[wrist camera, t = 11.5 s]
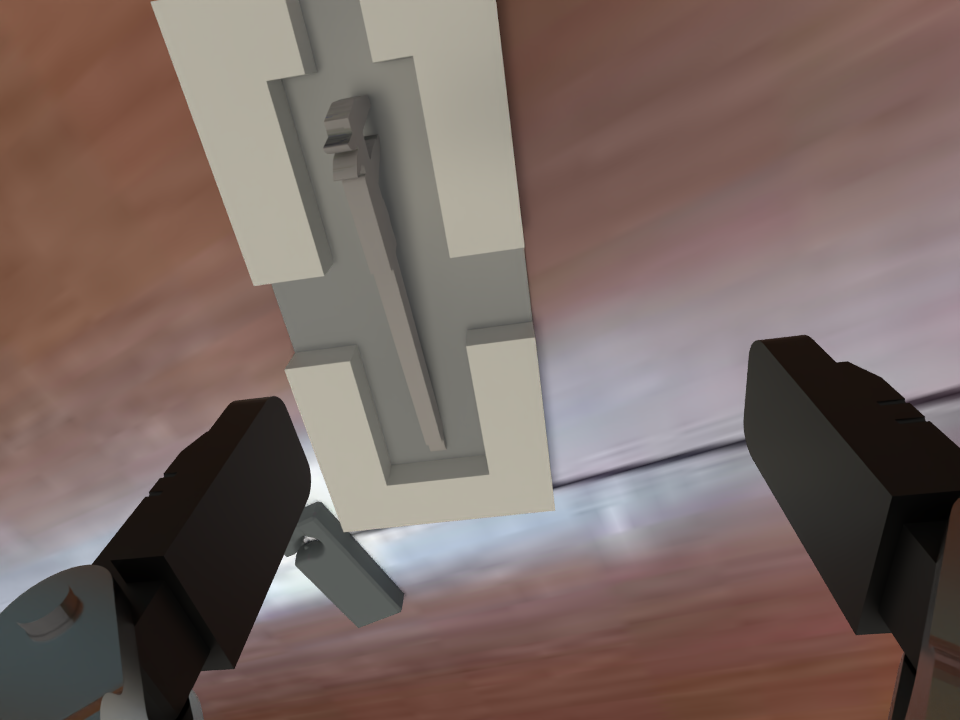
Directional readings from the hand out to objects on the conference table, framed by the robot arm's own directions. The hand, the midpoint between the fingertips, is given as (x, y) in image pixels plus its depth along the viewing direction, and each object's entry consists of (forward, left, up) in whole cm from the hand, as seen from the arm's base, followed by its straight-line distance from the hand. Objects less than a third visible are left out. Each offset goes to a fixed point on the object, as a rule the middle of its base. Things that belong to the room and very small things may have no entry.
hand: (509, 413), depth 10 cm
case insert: (+6, +6, -21) cm, 23 cm away
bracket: (+15, +26, -22) cm, 37 cm away
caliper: (+6, +6, -21) cm, 23 cm away
